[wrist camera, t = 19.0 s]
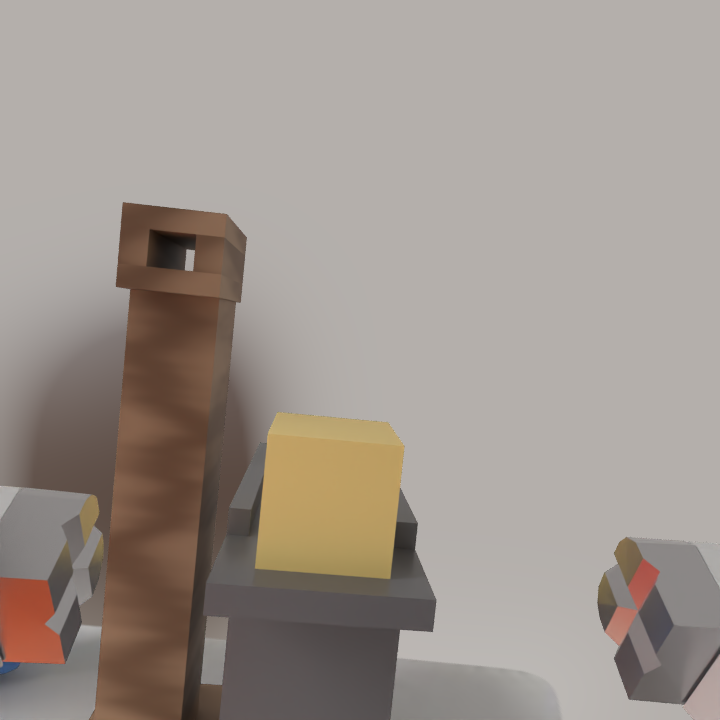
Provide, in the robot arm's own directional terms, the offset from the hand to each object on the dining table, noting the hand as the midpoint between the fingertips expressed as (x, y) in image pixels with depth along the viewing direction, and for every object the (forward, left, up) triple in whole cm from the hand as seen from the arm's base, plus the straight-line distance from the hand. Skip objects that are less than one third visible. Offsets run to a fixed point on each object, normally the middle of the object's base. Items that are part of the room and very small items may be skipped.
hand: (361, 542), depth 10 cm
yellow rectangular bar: (0, +19, -5) cm, 20 cm away
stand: (-8, +23, -21) cm, 32 cm away
